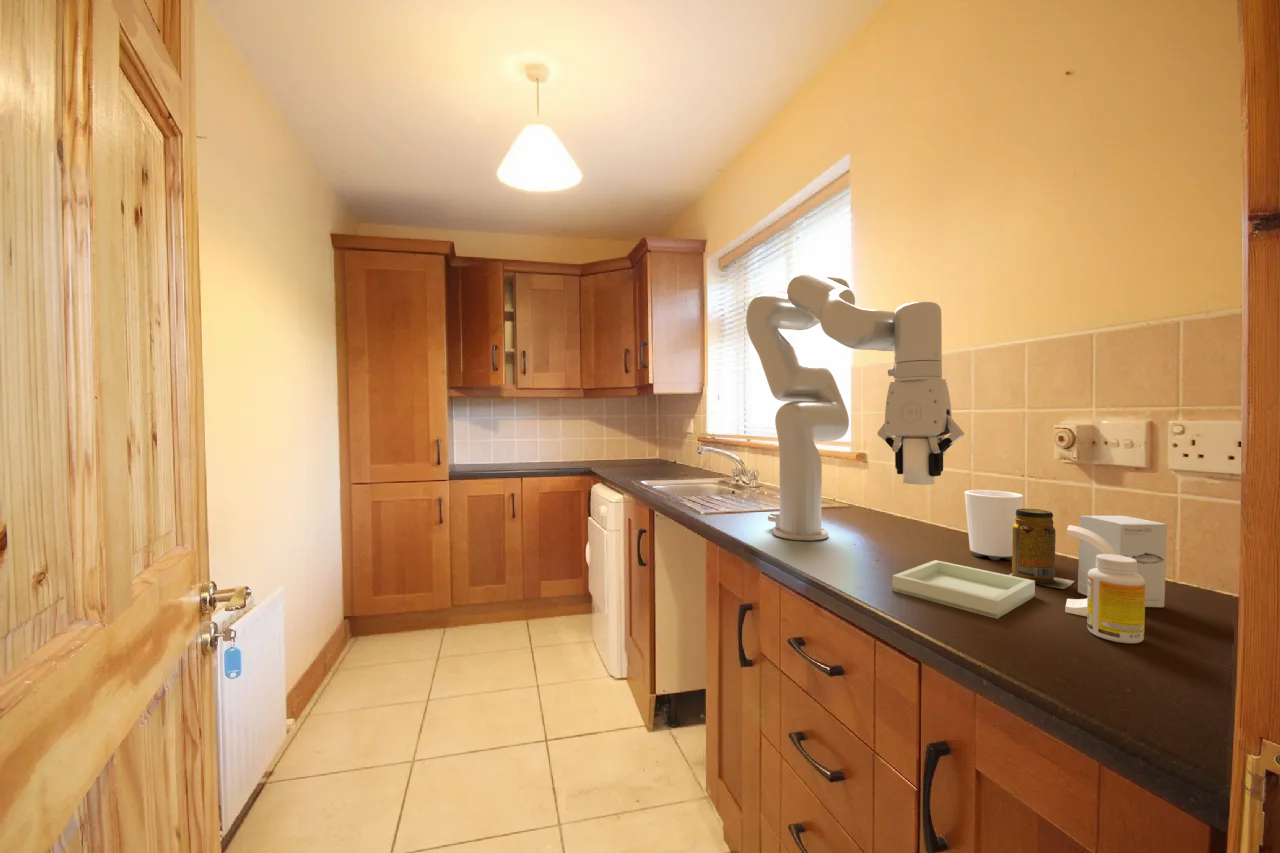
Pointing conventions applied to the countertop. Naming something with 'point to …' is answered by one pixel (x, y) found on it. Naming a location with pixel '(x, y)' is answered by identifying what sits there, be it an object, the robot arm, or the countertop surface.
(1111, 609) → the supplement bottle
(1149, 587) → the supplement box
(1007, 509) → the cup
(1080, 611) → the headphone stand
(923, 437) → the shaker
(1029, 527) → the condiment
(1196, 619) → the countertop surface
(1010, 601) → the tray
